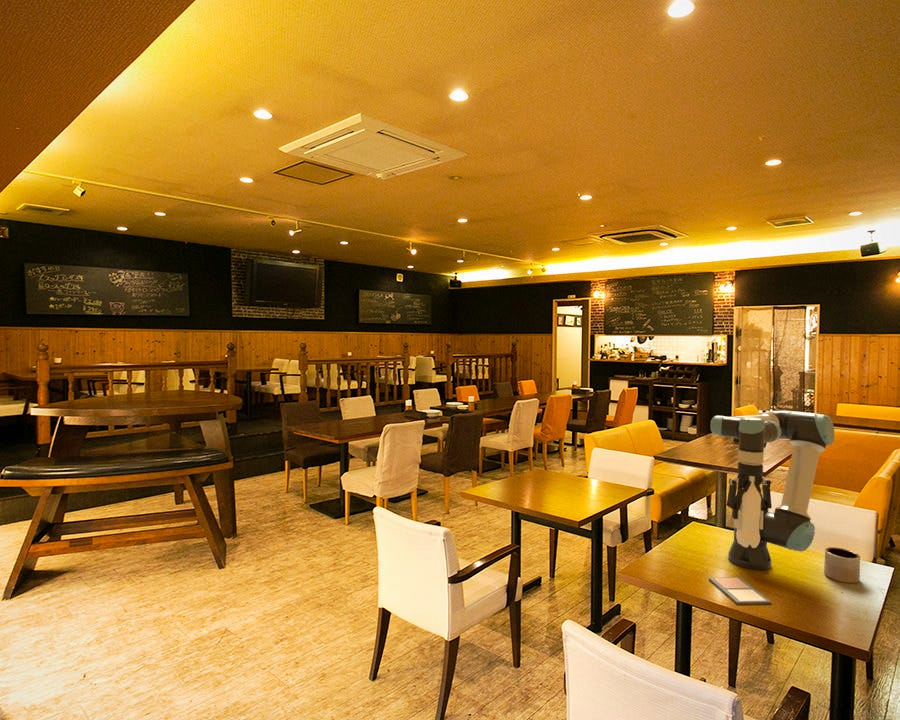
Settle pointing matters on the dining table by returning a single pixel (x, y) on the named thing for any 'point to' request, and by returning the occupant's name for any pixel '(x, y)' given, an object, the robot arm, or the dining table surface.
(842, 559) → the planter
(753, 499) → the water bottle
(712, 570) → the dining table surface
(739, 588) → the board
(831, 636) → the dining table surface
